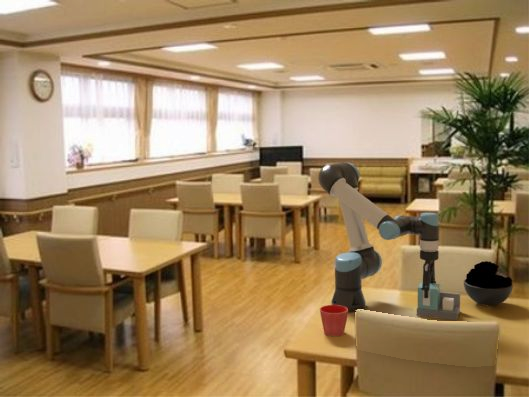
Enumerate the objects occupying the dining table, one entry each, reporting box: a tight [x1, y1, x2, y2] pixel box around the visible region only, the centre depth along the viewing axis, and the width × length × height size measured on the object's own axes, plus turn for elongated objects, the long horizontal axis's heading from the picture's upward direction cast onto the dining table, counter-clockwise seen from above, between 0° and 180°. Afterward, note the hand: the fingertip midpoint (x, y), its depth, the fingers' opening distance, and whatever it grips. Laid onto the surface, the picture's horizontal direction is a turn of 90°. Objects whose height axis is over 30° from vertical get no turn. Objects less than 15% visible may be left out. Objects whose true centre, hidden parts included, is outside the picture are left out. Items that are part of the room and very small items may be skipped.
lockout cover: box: [417, 281, 441, 310], centre depth 230 cm, size 8×8×9 cm
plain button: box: [443, 297, 454, 311], centre depth 228 cm, size 4×4×5 cm
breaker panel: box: [416, 290, 461, 321], centre depth 230 cm, size 16×12×8 cm
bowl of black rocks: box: [463, 260, 514, 307], centre depth 239 cm, size 20×20×19 cm
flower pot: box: [319, 304, 349, 337], centre depth 212 cm, size 11×11×10 cm
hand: (428, 301), depth 230 cm, fingers open, 10 cm apart
